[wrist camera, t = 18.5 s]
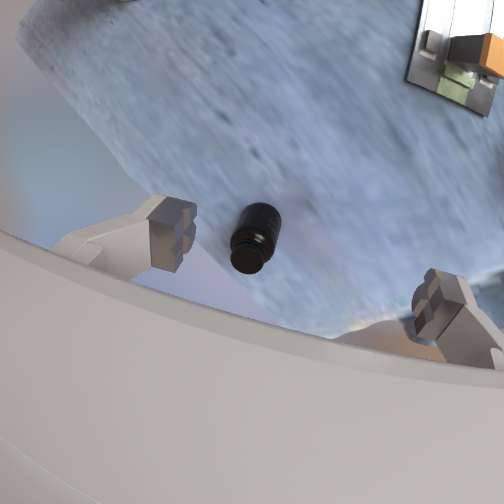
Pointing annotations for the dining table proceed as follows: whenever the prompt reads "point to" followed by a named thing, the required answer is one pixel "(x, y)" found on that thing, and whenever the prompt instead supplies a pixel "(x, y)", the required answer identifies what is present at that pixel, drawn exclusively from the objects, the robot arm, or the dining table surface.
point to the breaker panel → (439, 46)
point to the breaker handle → (479, 54)
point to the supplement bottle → (255, 238)
